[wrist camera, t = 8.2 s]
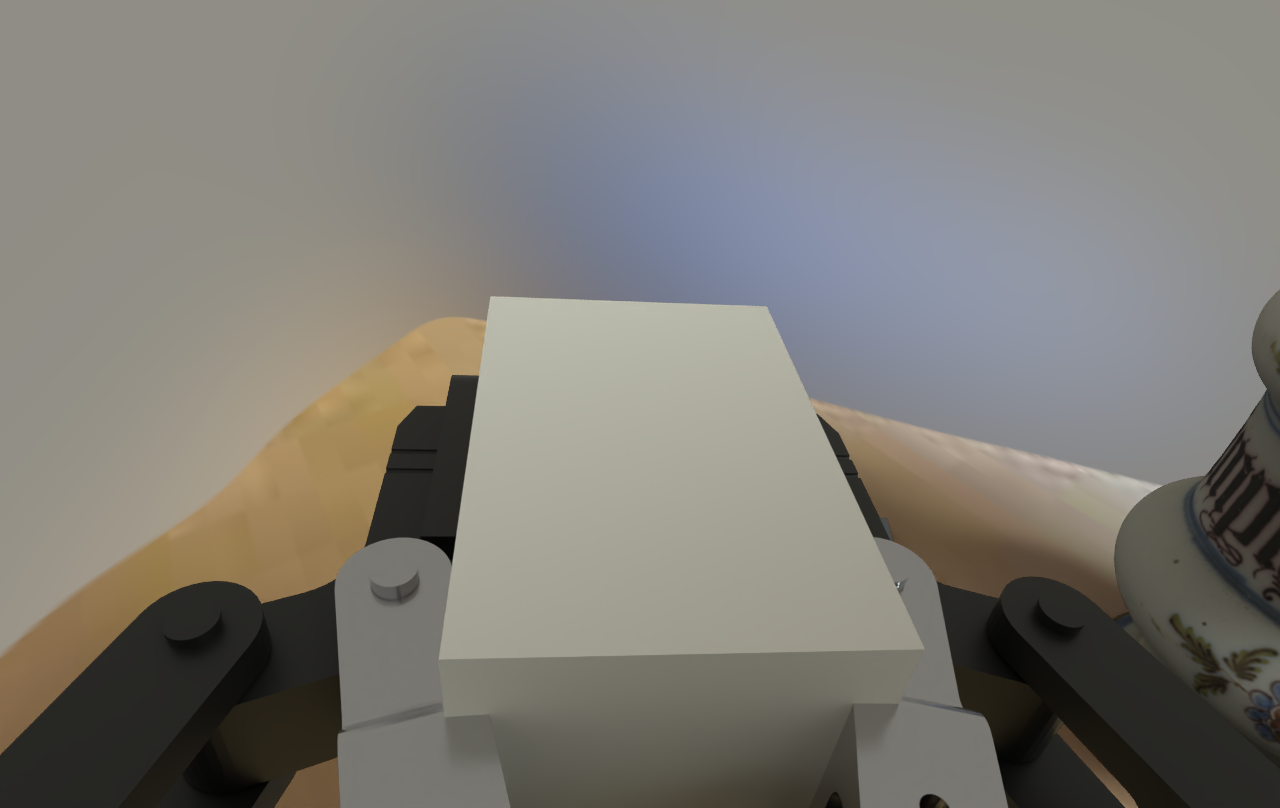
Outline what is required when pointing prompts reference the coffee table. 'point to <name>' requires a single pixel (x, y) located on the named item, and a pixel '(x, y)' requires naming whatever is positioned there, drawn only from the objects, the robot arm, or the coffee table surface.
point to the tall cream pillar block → (660, 563)
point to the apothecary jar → (1217, 567)
